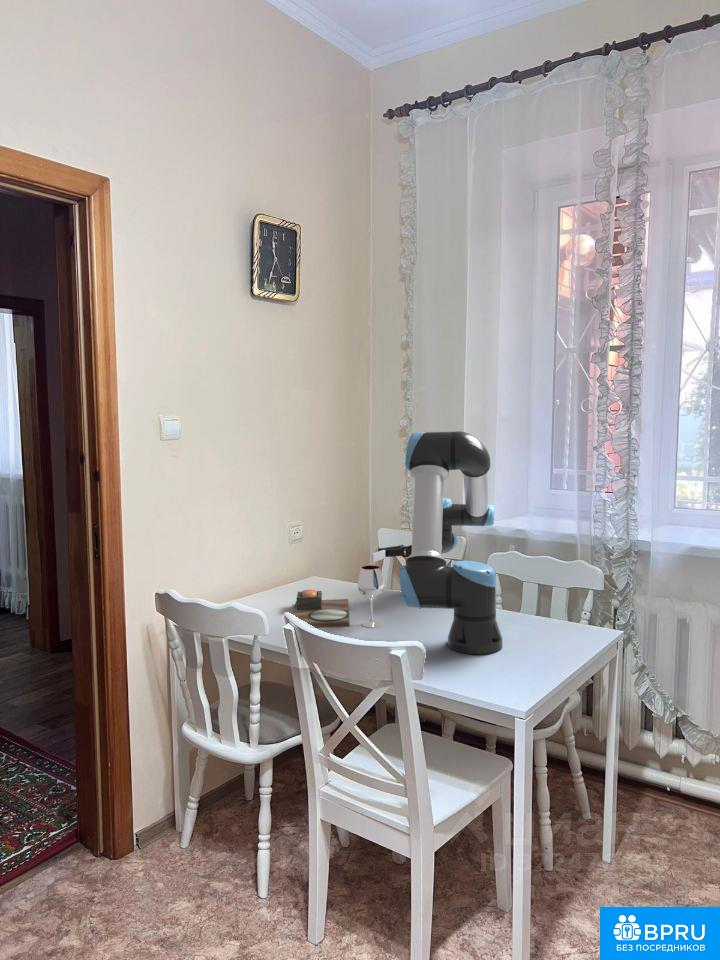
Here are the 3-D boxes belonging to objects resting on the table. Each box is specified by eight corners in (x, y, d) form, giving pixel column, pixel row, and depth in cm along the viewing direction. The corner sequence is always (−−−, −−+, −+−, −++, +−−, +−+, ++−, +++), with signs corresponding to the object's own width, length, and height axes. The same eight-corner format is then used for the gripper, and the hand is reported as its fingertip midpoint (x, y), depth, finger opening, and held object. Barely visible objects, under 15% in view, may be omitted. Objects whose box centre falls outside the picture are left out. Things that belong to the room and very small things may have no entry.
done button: (316, 602, 237) (316, 593, 236) (301, 603, 237) (301, 593, 236) (317, 598, 242) (316, 589, 241) (302, 599, 242) (302, 589, 241)
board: (349, 626, 221) (348, 609, 220) (290, 628, 220) (290, 611, 220) (348, 602, 247) (347, 587, 246) (296, 604, 246) (295, 589, 246)
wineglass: (385, 628, 218) (384, 570, 216) (358, 628, 218) (357, 571, 216) (384, 620, 226) (383, 564, 224) (358, 620, 226) (357, 564, 224)
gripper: (457, 563, 237) (422, 577, 221) (396, 554, 253) (359, 566, 236) (457, 541, 236) (422, 553, 220) (396, 533, 252) (358, 544, 235)
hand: (389, 560), depth 228 cm, fingers open, 13 cm apart
